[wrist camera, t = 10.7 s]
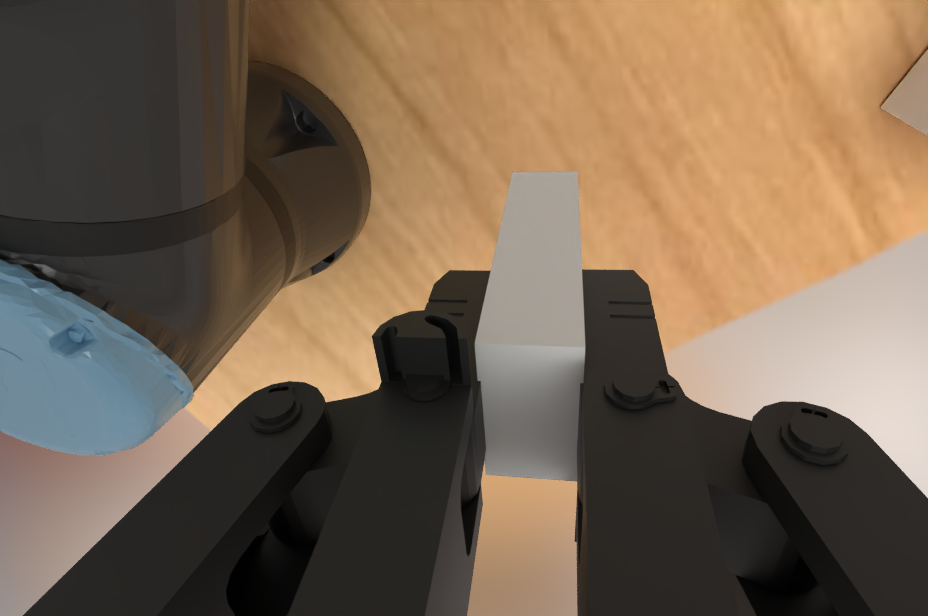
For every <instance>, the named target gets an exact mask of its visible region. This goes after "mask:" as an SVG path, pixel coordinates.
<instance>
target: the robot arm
mask: <svg viewBox="0 0 928 616" xmlns="http://www.w3.org/2000/svg"><path fill="white" fill-rule="evenodd" d="M249 18H250V0H0V431H1V432H3V433H5V434H7V435H10V436H12V437H15V438H18V439H20V440H23V441H26V442H28V443H31V444H34V445H37V446H41V447H44V448H48V449H51V450H55V451H59V452H64V453H70V454H79V455H107V454H111V453H115V452H118V451H123V450H127V449H132V448H134V447H136V446H138V445H140V444H142V443H143V442H144V441H146V440H147V439H149V438H150V437H151V436H152V435H153V434H154V433H155V432H156V431H157V430H159V429H160V428H161V427H162V426H163V425H164V424H165V423H166V422H167V421H168V420H169V419H170V418H171V417H173V416H174V415H175V414H176V413H177V412H178V411H179V410H180V409H182V408H184V407H185V406H186V405H187V404H188V403H189V402H190V401H191V400H192V397H193V396H194V394H193V393H194V392H195V390H196V389H197V388H198V387H199V386H200V385H201V383H202V382H203V381H204V380H205V379H206V377H207V376H208V375H209V374H210V373H211V371H212V370H213V369H214V368H215V367H216V366H217V364H218V363H219V362H220V361H221V360H222V358H223V357H224V356H225V355H226V354H227V352H228V351H229V350H230V349H231V348H232V347H233V345H234V344H235V343H236V342H237V341H238V339H239V338H240V337H241V336H242V335H243V333H244V332H245V331H246V330H247V329H248V328H249V326H250V325H251V324H252V323H253V322H254V320H255V319H256V318H257V317H258V316H259V314H260V313H261V312H262V311H263V310H264V309H265V307H266V306H267V305H268V304H269V303H270V301H271V300H272V299H273V298H274V296H275V295H276V294H277V293H278V292H279V291H280V289H282V288H284V287H286V286H289V285H291V284H293V283H296V282H298V281H300V280H303V279H305V278H307V277H310V276H312V275H314V274H317V273H319V272H321V271H323V270H325V269H326V268H328V267H330V266H331V265H332V264H334V263H335V262H336V261H337V260H338V259H339V258H341V257H342V256H343V254H344V253H345V252H346V251H347V250H348V248H349V247H350V246H351V244H352V243H353V242H354V240H355V239H356V238H357V236H358V235H359V233H360V231H361V230H362V228H363V226H364V223H365V221H366V218H367V215H368V211H369V206H370V195H371V187H370V176H369V170H368V166H367V162H366V158H365V156H364V153H363V150H362V148H361V145H360V143H359V141H358V139H357V137H356V135H355V133H354V131H353V130H352V128H351V126H350V125H349V123H348V122H347V120H346V119H345V117H344V116H343V115H342V114H341V112H340V111H339V110H338V109H337V108H336V106H335V105H334V104H333V103H332V102H331V101H330V100H329V99H328V98H327V97H326V96H325V95H324V94H322V93H321V92H320V91H319V90H318V89H316V88H315V87H314V86H313V85H311V84H310V83H308V82H307V81H305V80H304V79H302V78H300V77H299V76H297V75H295V74H293V73H291V72H289V71H287V70H284V69H282V68H279V67H276V66H273V65H270V64H266V63H261V62H255V61H248V42H249ZM372 339H373V344H374V348H375V353H376V358H377V363H378V367H379V372H380V377H381V381H382V382H381V384H380V387H379V389H378V390H375V391H373V392H371V393H368V394H365V395H361V396H357V397H352V398H347V399H342V400H337V401H332V402H325V399H324V397H323V395H322V394H321V393H320V391H319V390H318V388H316V387H314V386H312V385H309V384H307V383H304V382H291V381H289V382H283V383H278V384H273V385H270V386H267V387H265V388H263V389H261V390H258V391H256V392H254V393H253V394H251V395H250V396H249V397H247V398H246V399H245V400H243V401H242V402H241V403H239V404H238V405H237V406H236V407H235V408H234V409H233V410H232V411H231V412H230V413H229V414H228V415H227V416H226V417H225V418H224V419H223V420H222V421H221V422H220V423H219V424H218V425H217V426H216V427H215V428H214V429H213V430H212V431H211V432H210V433H209V434H208V435H207V436H206V437H205V438H204V439H203V440H202V441H201V442H200V443H199V444H198V445H197V446H196V447H195V448H193V450H191V451H190V452H189V453H188V454H187V455H186V456H185V457H184V458H183V459H182V460H181V461H180V462H179V463H178V464H177V465H176V466H175V467H174V468H173V469H172V470H171V471H170V472H169V473H168V474H167V475H166V476H165V477H164V478H163V479H162V480H161V481H160V482H159V483H158V484H157V485H156V486H155V487H154V488H153V489H152V490H151V491H150V492H149V493H148V494H146V495H145V496H144V498H142V499H141V500H140V502H138V503H137V504H136V505H135V506H134V507H133V508H132V509H131V510H130V511H129V512H128V513H127V514H126V515H125V516H124V517H123V518H122V519H121V520H120V521H119V522H118V523H117V524H116V525H115V526H114V527H113V528H112V529H111V530H110V531H109V532H108V533H107V534H106V535H105V536H104V537H103V538H102V539H101V540H100V541H98V542H97V544H95V545H94V546H93V547H92V548H91V549H90V550H89V551H88V552H87V553H86V554H85V555H84V556H83V557H82V558H81V559H80V560H79V561H78V562H77V563H76V564H75V565H74V566H73V567H72V568H71V569H70V570H69V571H68V572H67V573H66V574H65V575H64V576H63V577H62V578H61V579H60V580H59V581H58V582H57V583H56V584H55V585H54V586H53V587H52V588H51V589H49V590H48V592H46V594H44V595H43V596H42V598H40V599H39V600H38V601H37V603H35V604H34V605H33V606H32V607H31V608H30V609H29V610H28V611H27V612H26V613H25V614H24V615H23V616H467V611H468V603H469V596H470V589H471V583H472V582H471V581H472V576H473V569H474V561H475V554H476V547H477V540H478V533H479V526H480V519H481V512H482V505H483V502H482V492H481V478H482V471H483V465H484V461H485V472H486V475H495V476H509V477H523V478H539V479H551V480H565V481H577V488H578V490H577V508H576V527H575V542H577V606H578V616H928V498H927V497H926V496H925V495H924V494H923V493H922V492H921V491H920V490H919V489H918V487H917V486H916V485H915V484H914V483H913V482H912V481H911V480H910V479H909V478H908V477H907V476H906V475H905V473H904V472H903V471H902V470H901V469H900V468H899V467H898V466H897V465H896V464H895V463H894V462H893V461H892V460H891V458H890V457H889V456H888V455H887V454H886V453H885V452H884V451H883V450H882V449H881V448H880V447H879V446H878V445H877V443H876V442H875V441H874V440H873V439H872V438H871V437H870V436H869V435H868V434H867V433H866V432H864V431H863V430H862V429H861V428H860V427H858V426H857V425H856V424H855V423H854V422H852V421H851V420H850V419H848V418H846V417H844V416H842V415H840V414H838V413H836V412H834V411H832V410H830V409H827V408H825V407H821V406H817V405H813V404H809V403H805V402H778V403H775V404H771V405H768V406H764V407H763V408H762V409H761V410H760V411H759V412H758V413H757V414H756V415H755V416H753V419H752V421H750V420H746V419H743V418H739V417H735V416H732V415H728V414H724V413H720V412H717V411H715V410H712V409H709V408H706V407H704V406H701V405H700V404H698V403H696V402H694V401H692V400H691V399H689V398H688V397H687V396H685V394H684V392H683V390H682V389H681V387H680V385H679V383H678V382H677V381H676V380H675V379H674V378H673V377H671V376H670V375H669V374H668V371H667V367H666V362H665V358H664V353H663V349H662V345H661V340H660V336H659V331H658V327H657V322H656V319H655V314H654V309H653V305H652V300H651V296H650V292H649V287H648V284H647V283H646V282H645V281H644V280H643V279H642V278H641V277H640V276H639V275H638V274H637V273H636V272H635V271H634V270H582V258H581V236H580V213H579V190H578V171H557V172H512V177H511V181H510V186H509V190H508V195H507V199H506V204H505V208H504V213H503V217H502V222H501V226H500V231H499V235H498V240H497V244H496V249H495V253H494V258H493V262H492V267H491V271H457V270H450V271H448V272H447V273H446V274H445V275H444V276H443V277H442V278H441V279H439V280H438V281H437V282H436V283H435V284H434V286H433V289H432V292H431V294H430V297H429V303H427V305H426V308H425V310H423V311H412V312H408V313H405V314H402V315H399V316H395V317H393V318H392V319H390V320H388V321H387V322H385V323H384V324H382V325H380V327H379V328H378V329H377V330H376V332H375V333H374V334H373V335H372Z"/></svg>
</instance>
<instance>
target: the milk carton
mask: <svg viewBox="0 0 928 616" xmlns="http://www.w3.org/2000/svg"><path fill="white" fill-rule="evenodd" d="M881 108H882V109H883V110H885V111H886V112H888V113H890V114H891V115H893V116H895V117H896V118H898V119H900V120H901V121H903V122H905V123H907V124H908V125H910V126H912V127H913V128H915V129H917V130H918V131H920V132H922V133H923V134H925V135H927V136H928V49H927V51H926V52H925V53H924V54H923V55H922V57H921V58H920V59H919V60H918V62H917V63H916V64H915V65H914V67H913V68H912V69H911V70H910V71H909V73H908V74H907V75H906V76H905V78H904V79H903V80H902V81H901V83H900V84H899V85H898V86H897V87H896V89H895V90H894V91H893V92H892V94H891V95H890V96H889V97H888V99H887V100H886V101H885V102H884V103H883V105H882V106H881Z"/></svg>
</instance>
